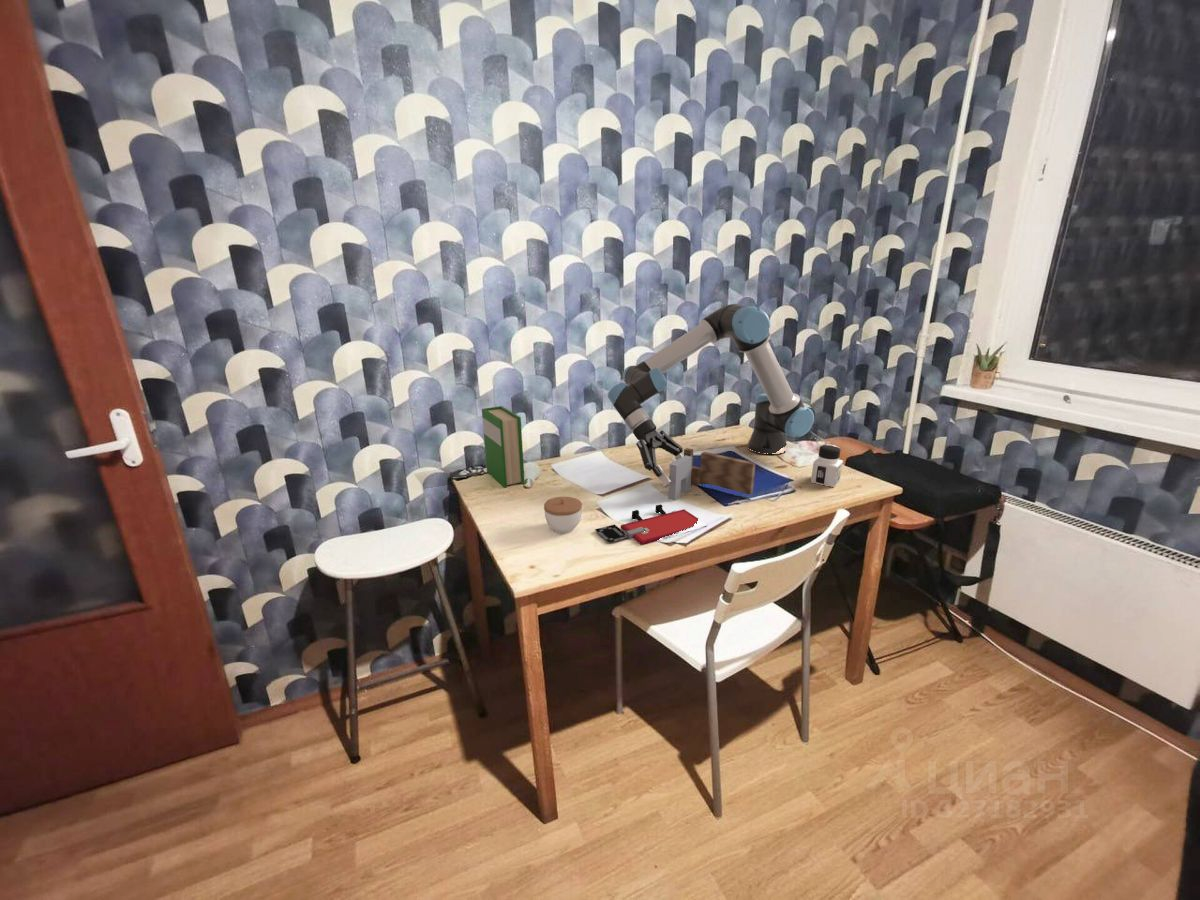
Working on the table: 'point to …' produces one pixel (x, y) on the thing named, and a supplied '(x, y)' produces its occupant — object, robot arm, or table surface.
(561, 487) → the table surface
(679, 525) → the red board with handle
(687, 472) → the grey slotted plate
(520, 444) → the hardback book
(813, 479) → the container
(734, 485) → the walnut slotted board
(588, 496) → the table surface
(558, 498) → the lidded jar
